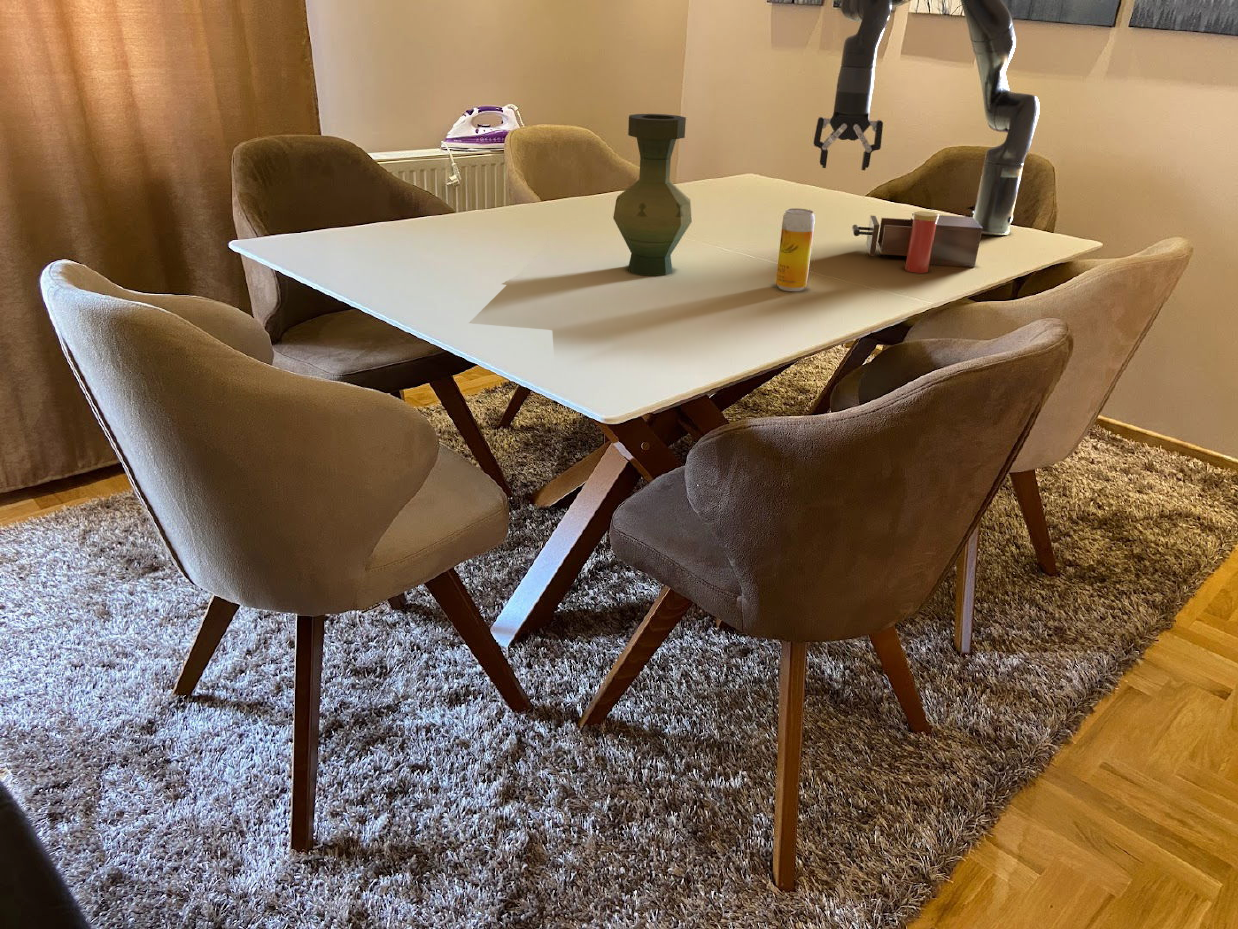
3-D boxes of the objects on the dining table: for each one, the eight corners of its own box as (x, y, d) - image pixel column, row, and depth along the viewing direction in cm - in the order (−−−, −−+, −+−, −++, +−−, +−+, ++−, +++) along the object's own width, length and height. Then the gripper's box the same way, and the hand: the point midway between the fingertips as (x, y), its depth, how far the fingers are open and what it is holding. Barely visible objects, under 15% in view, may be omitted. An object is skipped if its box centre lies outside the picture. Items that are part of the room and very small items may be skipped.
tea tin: (903, 266, 202) (912, 210, 196) (926, 267, 201) (936, 212, 196) (905, 272, 197) (915, 215, 192) (929, 273, 197) (940, 216, 191)
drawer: (851, 254, 207) (856, 223, 204) (848, 243, 216) (852, 214, 213) (926, 259, 205) (932, 228, 202) (920, 248, 214) (925, 218, 211)
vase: (697, 265, 197) (708, 115, 183) (677, 283, 183) (687, 124, 170) (625, 256, 201) (630, 110, 188) (600, 274, 188) (603, 117, 174)
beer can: (772, 283, 186) (780, 207, 179) (801, 283, 186) (811, 208, 180) (779, 291, 180) (788, 214, 174) (809, 292, 181) (819, 214, 174)
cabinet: (911, 262, 205) (918, 223, 201) (905, 250, 215) (911, 213, 211) (974, 267, 203) (982, 227, 199) (965, 254, 213) (972, 217, 210)
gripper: (886, 90, 199) (874, 168, 206) (819, 86, 200) (810, 164, 207) (890, 92, 192) (878, 173, 199) (821, 89, 194) (811, 169, 201)
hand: (843, 168), depth 203 cm, fingers open, 8 cm apart
